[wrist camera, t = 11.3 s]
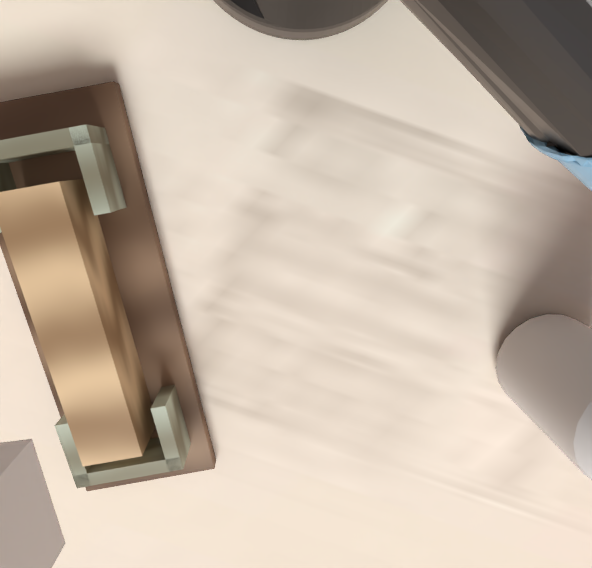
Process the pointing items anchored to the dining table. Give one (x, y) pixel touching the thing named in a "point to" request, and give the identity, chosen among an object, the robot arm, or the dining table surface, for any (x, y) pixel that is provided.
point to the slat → (79, 318)
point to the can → (552, 381)
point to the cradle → (125, 261)
